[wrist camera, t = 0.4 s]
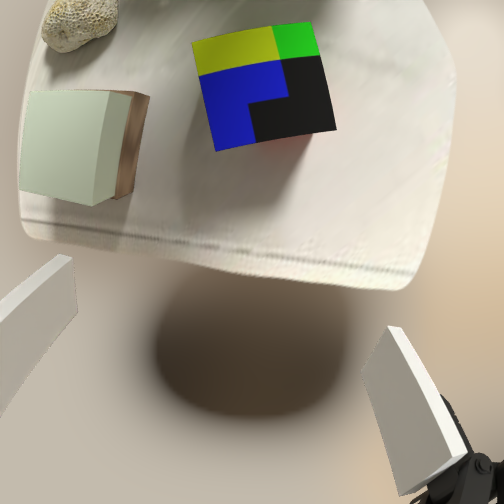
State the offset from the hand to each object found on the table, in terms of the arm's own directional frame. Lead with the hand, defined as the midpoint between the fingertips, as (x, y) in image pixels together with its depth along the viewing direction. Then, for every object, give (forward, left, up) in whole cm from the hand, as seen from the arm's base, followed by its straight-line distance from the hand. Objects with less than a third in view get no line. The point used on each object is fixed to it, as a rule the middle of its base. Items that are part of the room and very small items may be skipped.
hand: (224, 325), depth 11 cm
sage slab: (-4, -20, -20) cm, 28 cm away
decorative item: (-21, -27, -25) cm, 42 cm away
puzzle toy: (-12, -1, -25) cm, 28 cm away
